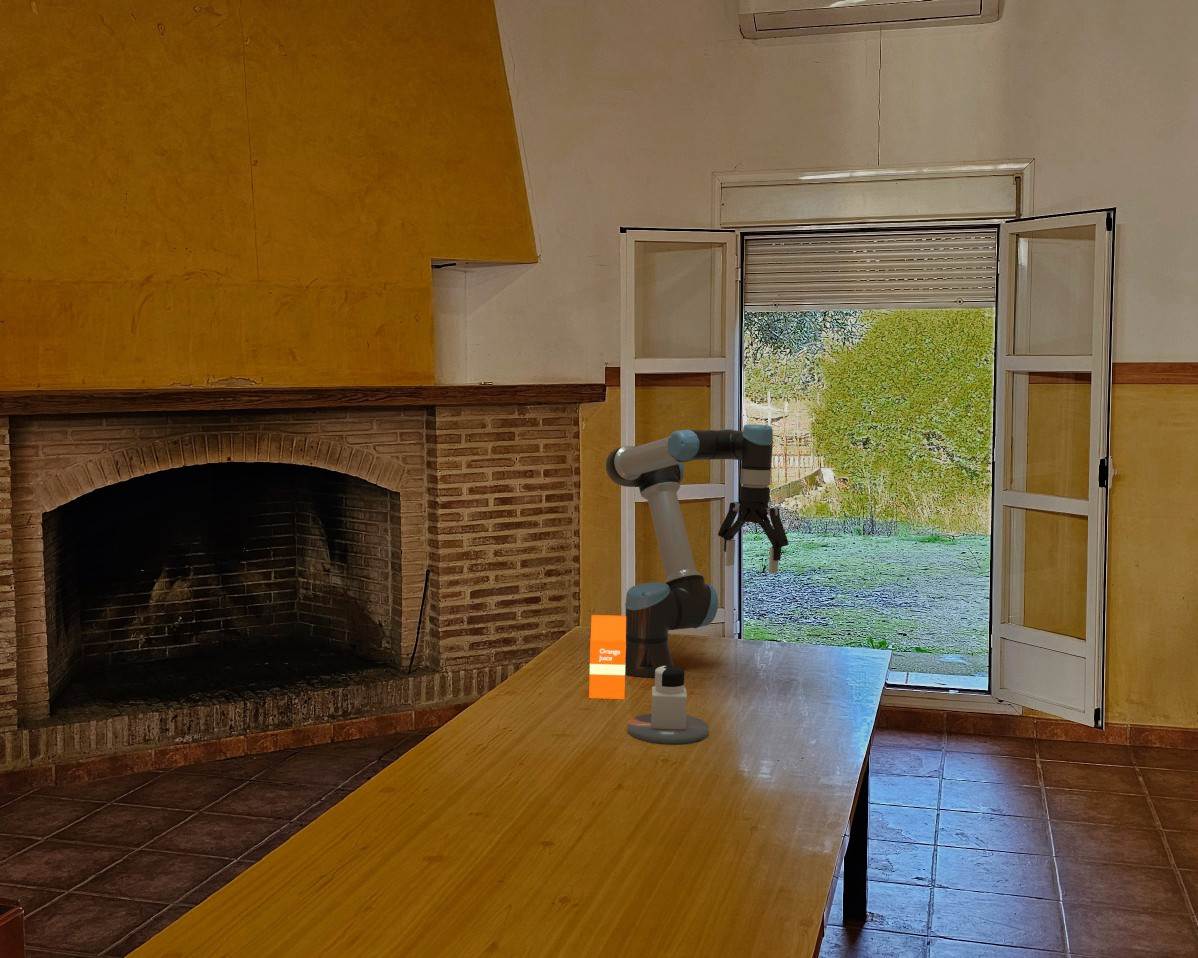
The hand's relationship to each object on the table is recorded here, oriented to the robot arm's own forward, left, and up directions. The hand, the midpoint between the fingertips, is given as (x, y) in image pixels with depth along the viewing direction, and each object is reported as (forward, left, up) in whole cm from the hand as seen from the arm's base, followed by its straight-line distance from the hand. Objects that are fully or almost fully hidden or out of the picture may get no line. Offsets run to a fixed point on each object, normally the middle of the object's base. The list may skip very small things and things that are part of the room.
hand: (750, 569), depth 284 cm
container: (+8, -41, -30) cm, 52 cm away
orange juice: (-22, -29, -32) cm, 48 cm away
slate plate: (+8, -41, -31) cm, 53 cm away
